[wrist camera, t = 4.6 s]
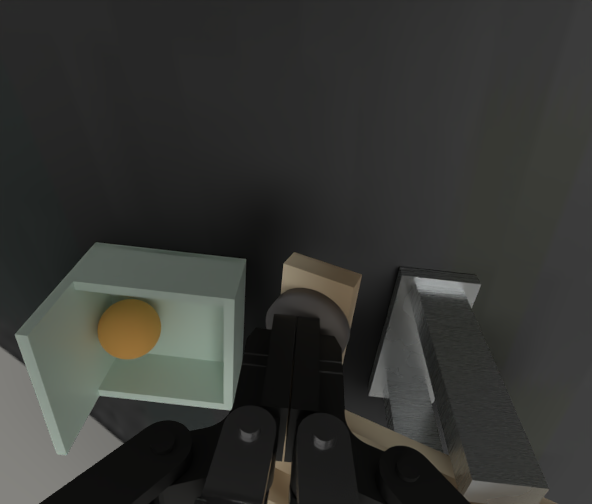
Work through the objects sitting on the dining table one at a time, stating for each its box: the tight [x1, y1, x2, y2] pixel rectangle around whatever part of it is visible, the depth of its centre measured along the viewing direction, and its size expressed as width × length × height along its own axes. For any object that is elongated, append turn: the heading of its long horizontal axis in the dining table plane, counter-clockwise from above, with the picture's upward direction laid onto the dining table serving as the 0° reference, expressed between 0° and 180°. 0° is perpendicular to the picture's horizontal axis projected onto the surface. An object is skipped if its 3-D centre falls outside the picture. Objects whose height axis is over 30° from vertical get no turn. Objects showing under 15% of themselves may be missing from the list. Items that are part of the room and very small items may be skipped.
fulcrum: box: [368, 267, 549, 504], centre depth 20 cm, size 4×9×11 cm, turn 175°
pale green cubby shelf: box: [15, 242, 246, 455], centre depth 22 cm, size 8×8×7 cm
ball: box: [97, 299, 161, 359], centre depth 23 cm, size 3×3×3 cm
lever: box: [266, 252, 557, 504], centre depth 14 cm, size 16×12×3 cm
